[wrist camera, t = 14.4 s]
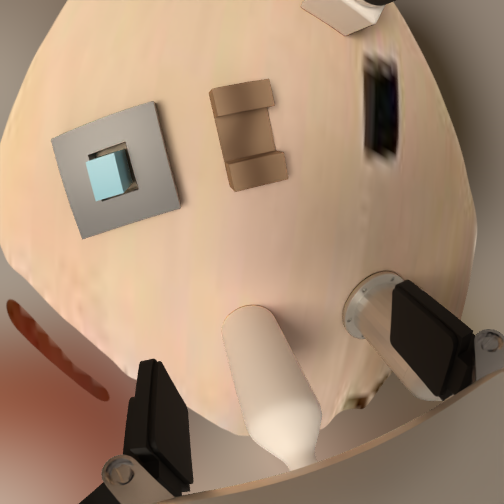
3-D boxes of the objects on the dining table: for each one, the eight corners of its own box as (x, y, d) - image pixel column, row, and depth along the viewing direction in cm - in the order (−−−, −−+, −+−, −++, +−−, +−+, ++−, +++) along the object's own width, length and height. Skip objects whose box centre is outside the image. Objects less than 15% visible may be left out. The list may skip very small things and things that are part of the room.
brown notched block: (260, 83, 31) (269, 78, 28) (278, 174, 36) (288, 179, 33) (208, 92, 30) (212, 88, 27) (229, 186, 35) (235, 191, 32)
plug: (124, 148, 31) (113, 152, 25) (132, 182, 32) (123, 192, 27) (100, 156, 30) (85, 162, 25) (108, 189, 32) (95, 201, 26)
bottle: (278, 302, 43) (387, 492, 16) (273, 345, 46) (356, 520, 19) (220, 306, 41) (289, 526, 14) (221, 351, 44) (276, 545, 17)
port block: (155, 103, 29) (153, 101, 27) (180, 202, 34) (180, 208, 32) (58, 138, 28) (50, 139, 26) (88, 232, 33) (82, 239, 31)
